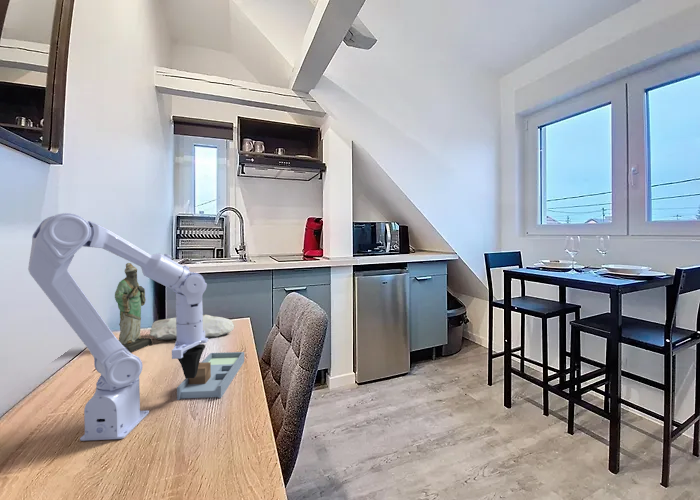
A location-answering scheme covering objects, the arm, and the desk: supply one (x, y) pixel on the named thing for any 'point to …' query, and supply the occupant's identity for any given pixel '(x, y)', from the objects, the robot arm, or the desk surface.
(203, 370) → the block
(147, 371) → the desk surface
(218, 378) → the box
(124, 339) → the figurine
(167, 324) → the stone
